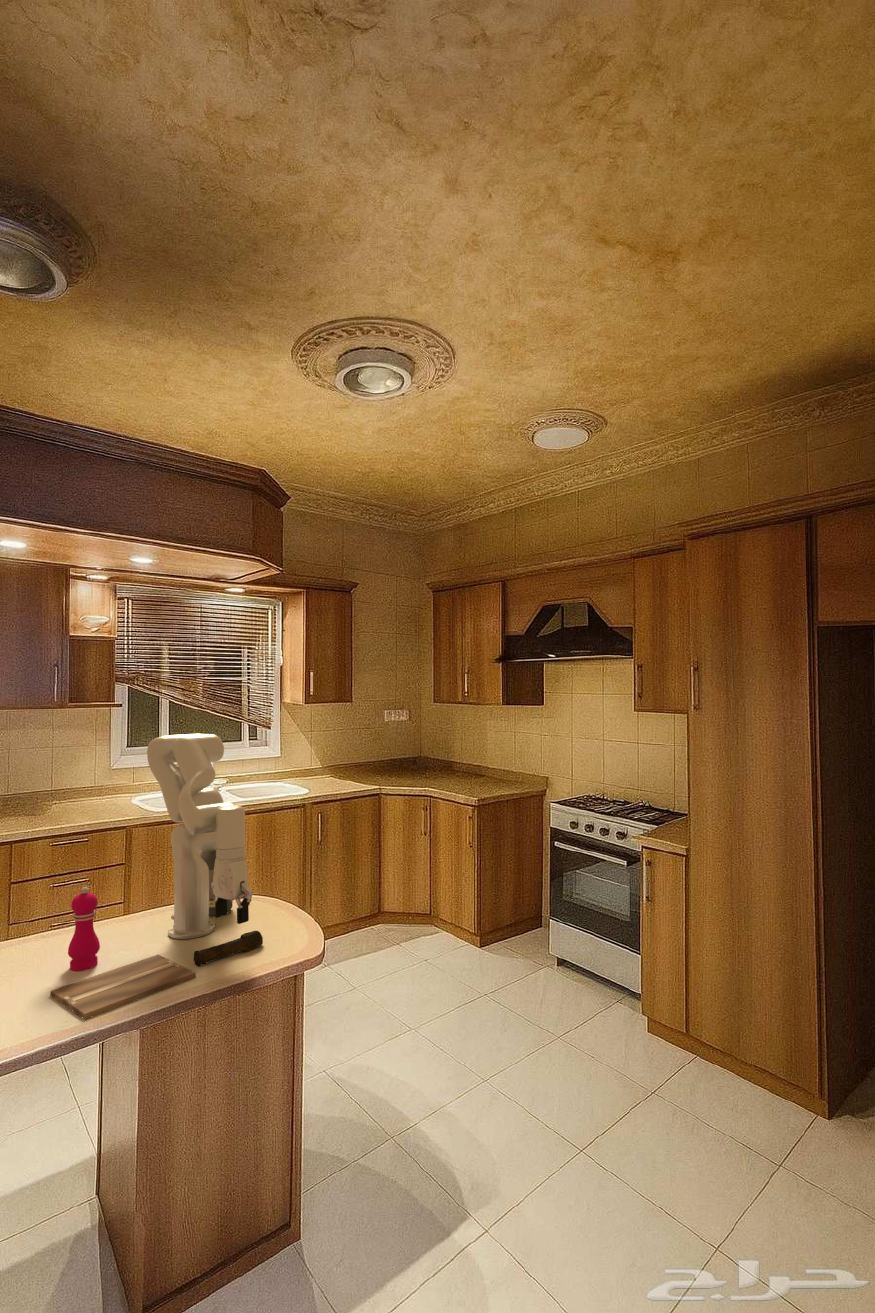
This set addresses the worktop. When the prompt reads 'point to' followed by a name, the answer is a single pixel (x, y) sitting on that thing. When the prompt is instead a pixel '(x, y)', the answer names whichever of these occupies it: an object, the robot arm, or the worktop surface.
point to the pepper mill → (84, 932)
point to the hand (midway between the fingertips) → (231, 919)
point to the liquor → (210, 860)
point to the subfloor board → (121, 985)
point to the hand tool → (229, 948)
